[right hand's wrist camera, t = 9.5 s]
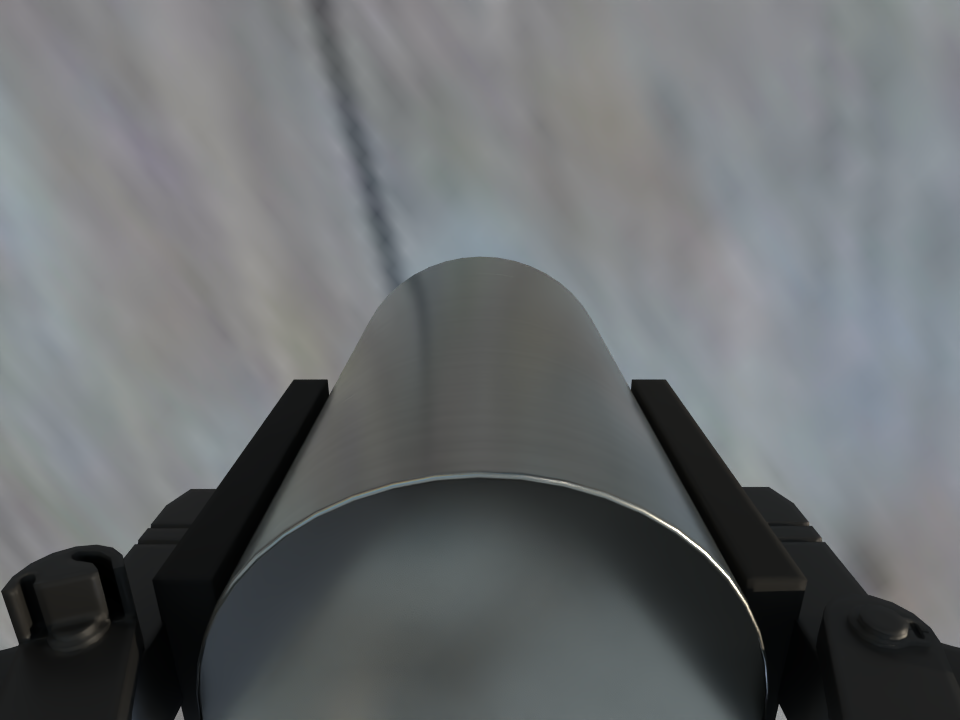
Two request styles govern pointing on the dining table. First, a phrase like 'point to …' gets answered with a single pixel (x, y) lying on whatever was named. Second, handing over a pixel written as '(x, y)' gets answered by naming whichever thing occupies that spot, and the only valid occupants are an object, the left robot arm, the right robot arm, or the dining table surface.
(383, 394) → the canister
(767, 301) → the dining table surface
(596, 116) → the dining table surface
